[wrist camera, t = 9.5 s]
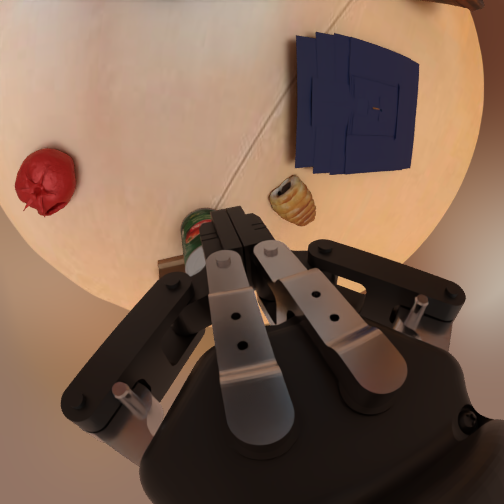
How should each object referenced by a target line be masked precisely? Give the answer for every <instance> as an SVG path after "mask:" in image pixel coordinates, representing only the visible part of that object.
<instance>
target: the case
mask: <svg viewBox="0 0 504 504" xmlns="http://www.w3.org/2000/svg"><path fill="white" fill-rule="evenodd" d="M422 1H430V2H437V3H443V4H449V5H454V6H460V7H463V8H468V9H469V10H470V11H472V12H473V11H475V10H478V9H482V8H484V2H483V0H422Z"/></svg>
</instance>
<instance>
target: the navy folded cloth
mask: <svg viewBox="0 0 504 504" xmlns="http://www.w3.org/2000/svg"><path fill="white" fill-rule="evenodd" d="M296 47H297V133H296V157H295V168H303V167H313V174H316V173H330V174H329V175H336V174H355V173H367V172H380V171H394V170H402V169H407V168H410V166H411V158H412V150H413V141H414V130H415V117H416V107H417V95H418V81H419V64H418V63H416V62H414V61H412V60H411V59H410V58H407V57H405V56H403V55H401V54H399V53H396V52H394V51H391V50H388V49H386V48H383V47H380V46H378V45H375V44H372V43H369V42H366V41H363V40H360V39H356V38H353V37H348V36H344V35H340V34H336V33H334V35H330V34H325V33H319V32H316V39H315V38H309V37H303V36H297V35H296Z"/></svg>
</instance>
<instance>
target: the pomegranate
mask: <svg viewBox="0 0 504 504" xmlns="http://www.w3.org/2000/svg"><path fill="white" fill-rule="evenodd" d="M75 187H76V180H75V172H74V163H73V160H72V158H71V157H70V156H68V155H67V154H65V153H63V152H60V151H59V150H56V149H49V148H45V149H41V150H38V151H36V152H34V153H32V154H30V155H29V156H27V158H26V159H25V160H24V161H23V163H22V165H21V167H20V169H19V171H18V174H17V178H16V182H15V190H16V192H17V195H18V197H19V199H20V200H21V201H22V202H24V203H26V206H25V209H26V208H27V207H28V206H30V207H32V208H35V209H37V210H38V213H39V214H40V215H43V216H44V217H45V216H49V215H52V214H54V213H56V212H58V211H59V210H60V209H62V208H64V207H65V206H66V205H67V204H68V202H69V201H70V199H71V197H72V196H73V193H74V191H75ZM25 209H24V210H25Z"/></svg>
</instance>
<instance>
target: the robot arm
mask: <svg viewBox="0 0 504 504" xmlns="http://www.w3.org/2000/svg"><path fill="white" fill-rule="evenodd" d="M210 216H211V222H206V223H202V224H201V226H200V228H199V233H200V238H201V243H202V248H203V253H204V257H205V261H206V264H205V266H204V268H203V269H202V270H201V271H200V272H198V273H196V274H195V275H192V276H189V275H188V274H187V273H184V272H171V273H168V274H166V275H164V276H162V277H161V278H160V279H159V280H158V281H157V282H156V283H155V284H154V285H153V286H152V288H151V289H150V290H149V291H148V292H147V293H146V294H145V295H144V296H143V298H142V299H141V300H140V301H139V302H138V303H137V304H136V305H135V307H134V308H133V309H132V310H131V311H130V312H129V313H128V315H127V316H126V317H125V318H124V319H123V320H122V321H121V323H120V324H119V325H118V326H117V327H116V328H115V330H114V331H113V332H112V333H111V334H110V336H109V337H108V338H107V339H106V340H105V341H104V343H103V344H102V345H101V346H100V348H99V349H98V350H97V351H96V352H95V354H94V355H93V356H92V357H91V358H90V360H89V361H88V362H87V363H86V364H85V366H84V367H83V368H82V369H81V371H80V372H79V373H78V374H77V376H76V377H75V378H74V380H73V381H72V382H71V383H70V385H69V386H68V387H67V389H66V390H65V391H64V393H63V395H62V398H61V409H62V412H63V414H64V415H65V417H67V418H68V419H69V420H71V421H72V422H73V423H75V424H76V425H78V426H79V427H80V428H81V429H82V430H83V431H85V432H86V433H88V434H89V435H91V436H93V437H94V438H96V439H97V440H99V441H101V442H103V443H106V444H108V445H109V446H110V447H112V448H113V449H115V450H116V451H117V452H119V453H120V454H121V455H123V456H124V457H126V458H127V459H129V460H130V461H131V462H133V463H135V464H136V465H138V466H139V467H140V469H139V475H140V481H141V484H142V487H143V489H144V491H145V493H146V495H147V496H148V498H149V499H150V500H151V501H152V503H153V504H504V420H494V419H489V418H486V417H484V416H482V415H480V414H479V413H478V412H477V411H476V410H475V409H474V408H473V406H472V404H471V402H470V399H469V397H468V393H467V390H466V386H465V380H464V375H463V372H462V369H461V367H460V364H459V363H458V361H457V360H456V359H455V358H454V357H453V356H452V355H451V354H450V353H449V352H448V351H449V345H450V338H451V331H452V323H453V321H454V320H455V318H456V316H457V314H458V313H459V311H460V309H461V307H462V306H463V304H464V302H465V299H466V296H465V293H464V291H463V289H461V287H460V286H459V285H457V284H455V283H454V282H452V281H449V280H446V279H443V278H441V277H438V276H435V275H432V274H430V273H427V272H424V271H421V270H418V269H415V268H413V267H410V266H407V265H404V264H401V263H398V262H395V261H392V260H389V259H386V258H383V257H380V256H377V255H374V254H371V253H368V252H365V251H362V250H359V249H356V248H353V247H350V246H347V245H344V244H340V243H337V242H334V241H331V240H325V239H321V240H316V241H313V242H311V243H310V244H309V246H308V251H292V250H290V249H289V248H288V247H287V246H286V245H285V244H284V243H282V242H280V241H276V240H275V239H274V238H273V236H272V235H271V233H270V232H269V230H268V229H267V228H266V226H265V224H264V223H263V221H262V220H261V218H260V217H259V216H257V215H255V214H253V213H251V214H245V213H244V211H243V209H242V208H241V206H236V207H231V208H226V209H221V210H216V211H211V212H210ZM338 276H340V277H343V278H346V279H348V280H351V281H354V282H357V283H360V284H362V285H363V286H364V287H365V288H366V292H367V293H366V294H361V293H358V292H356V291H353V290H350V289H348V288H345V287H342V286H339V285H337V279H338ZM253 289H256V291H257V300H258V303H259V305H260V307H261V309H262V310H263V312H264V314H265V316H266V318H267V319H268V321H269V323H270V325H269V326H265V325H264V322H263V319H262V316H261V313H260V309H259V306H258V303H257V300H256V297H255V293H254V290H253ZM210 325H212V327H213V334H214V341H215V346H213V347H212V348H210V349H209V350H208V351H206V352H205V353H204V354H203V355H202V356H201V358H200V359H199V360H198V361H197V363H196V364H195V366H194V368H193V369H192V371H191V373H190V375H189V376H188V378H187V380H186V381H185V383H184V385H183V387H182V389H181V390H180V392H179V394H178V396H177V397H176V399H175V401H174V402H173V404H172V406H171V408H170V409H169V411H168V413H167V415H166V416H165V418H164V420H163V415H164V412H163V408H162V406H161V404H160V402H161V400H162V398H163V397H164V395H165V394H166V392H167V391H168V389H169V388H170V386H171V385H172V383H173V382H174V380H175V379H176V377H177V375H178V374H179V372H180V371H181V369H182V368H183V366H184V365H185V363H186V362H187V360H188V359H189V357H190V355H191V354H192V352H193V351H194V349H195V348H196V346H197V345H198V343H199V342H200V340H201V338H202V337H203V335H204V333H205V328H206V327H208V326H210ZM162 420H163V421H162ZM161 422H162V423H161Z"/></svg>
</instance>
